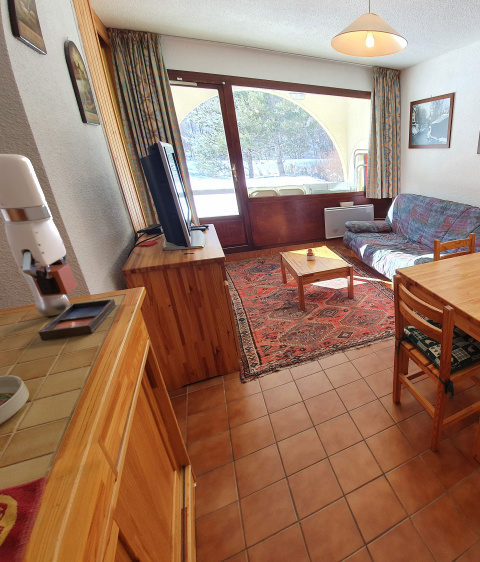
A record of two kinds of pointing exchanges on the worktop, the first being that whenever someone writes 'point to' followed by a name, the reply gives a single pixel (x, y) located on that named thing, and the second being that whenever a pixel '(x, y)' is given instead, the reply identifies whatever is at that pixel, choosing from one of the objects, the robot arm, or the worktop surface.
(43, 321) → the worktop surface
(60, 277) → the red block
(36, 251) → the robot arm
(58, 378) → the worktop surface
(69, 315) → the sorting tray
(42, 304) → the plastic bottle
